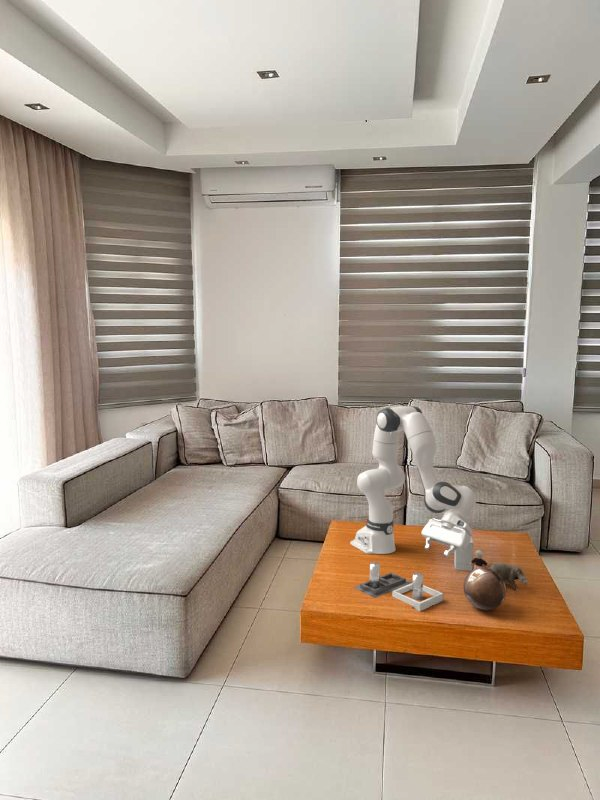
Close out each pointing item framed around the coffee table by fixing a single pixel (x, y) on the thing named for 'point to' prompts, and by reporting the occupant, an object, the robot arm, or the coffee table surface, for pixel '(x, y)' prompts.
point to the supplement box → (464, 558)
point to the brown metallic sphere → (484, 588)
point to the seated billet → (374, 575)
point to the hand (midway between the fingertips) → (436, 552)
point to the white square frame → (417, 605)
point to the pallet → (384, 585)
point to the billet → (417, 586)
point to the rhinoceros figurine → (509, 573)
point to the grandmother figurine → (479, 560)
